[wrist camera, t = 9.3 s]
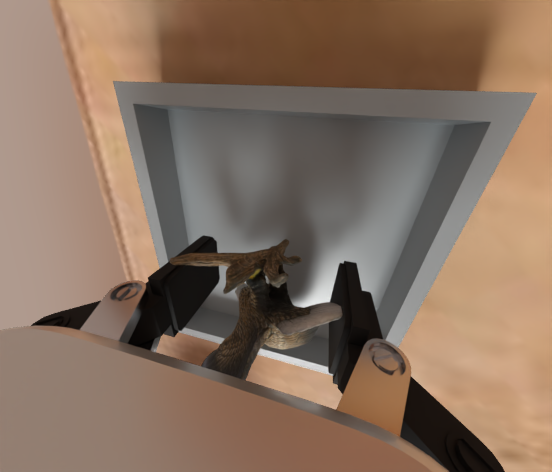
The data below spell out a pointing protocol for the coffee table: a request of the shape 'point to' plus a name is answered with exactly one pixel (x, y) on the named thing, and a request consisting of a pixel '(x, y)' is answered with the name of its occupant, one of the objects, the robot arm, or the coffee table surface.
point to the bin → (316, 186)
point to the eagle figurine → (260, 307)
